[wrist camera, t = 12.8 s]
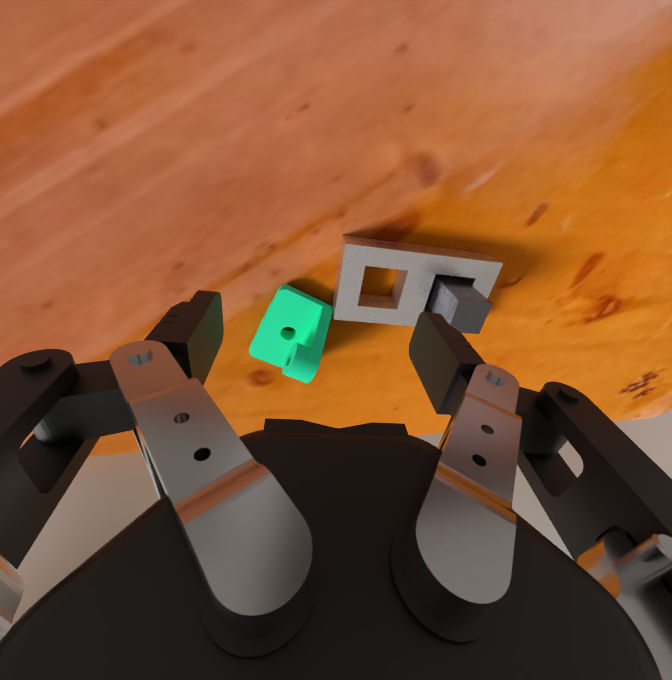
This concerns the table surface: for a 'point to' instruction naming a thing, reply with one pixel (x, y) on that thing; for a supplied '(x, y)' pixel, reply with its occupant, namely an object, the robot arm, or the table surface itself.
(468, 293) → the peg
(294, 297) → the camera mount
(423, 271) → the rail
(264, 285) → the table surface
